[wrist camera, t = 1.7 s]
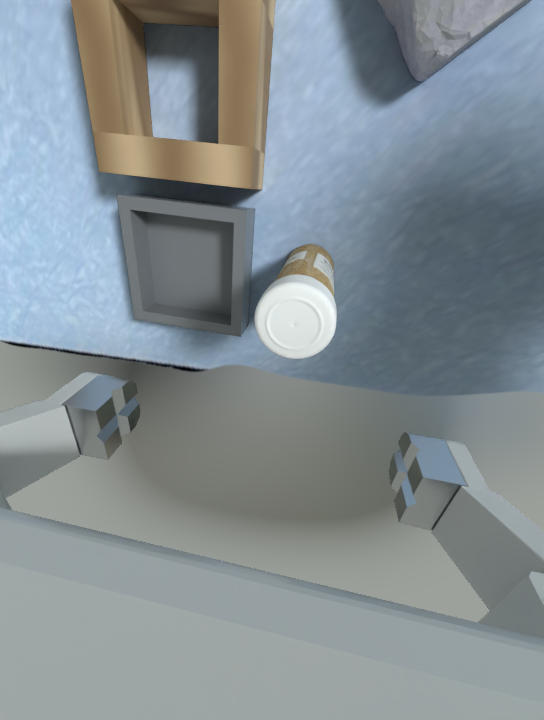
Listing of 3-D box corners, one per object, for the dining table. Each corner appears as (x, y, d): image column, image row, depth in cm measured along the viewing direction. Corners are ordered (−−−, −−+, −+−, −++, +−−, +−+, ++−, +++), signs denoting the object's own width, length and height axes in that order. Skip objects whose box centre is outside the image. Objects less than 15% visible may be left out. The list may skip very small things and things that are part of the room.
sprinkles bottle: (284, 244, 27) (248, 283, 15) (336, 242, 26) (339, 282, 15) (286, 294, 29) (256, 360, 18) (333, 293, 28) (334, 363, 17)
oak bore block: (277, -26, 19) (265, -73, 16) (262, 189, 25) (251, 189, 22) (104, -32, 20) (58, -78, 17) (129, 174, 26) (99, 171, 23)
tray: (255, 208, 26) (246, 210, 23) (248, 324, 31) (240, 336, 29) (137, 194, 27) (116, 194, 24) (150, 309, 33) (134, 318, 30)
